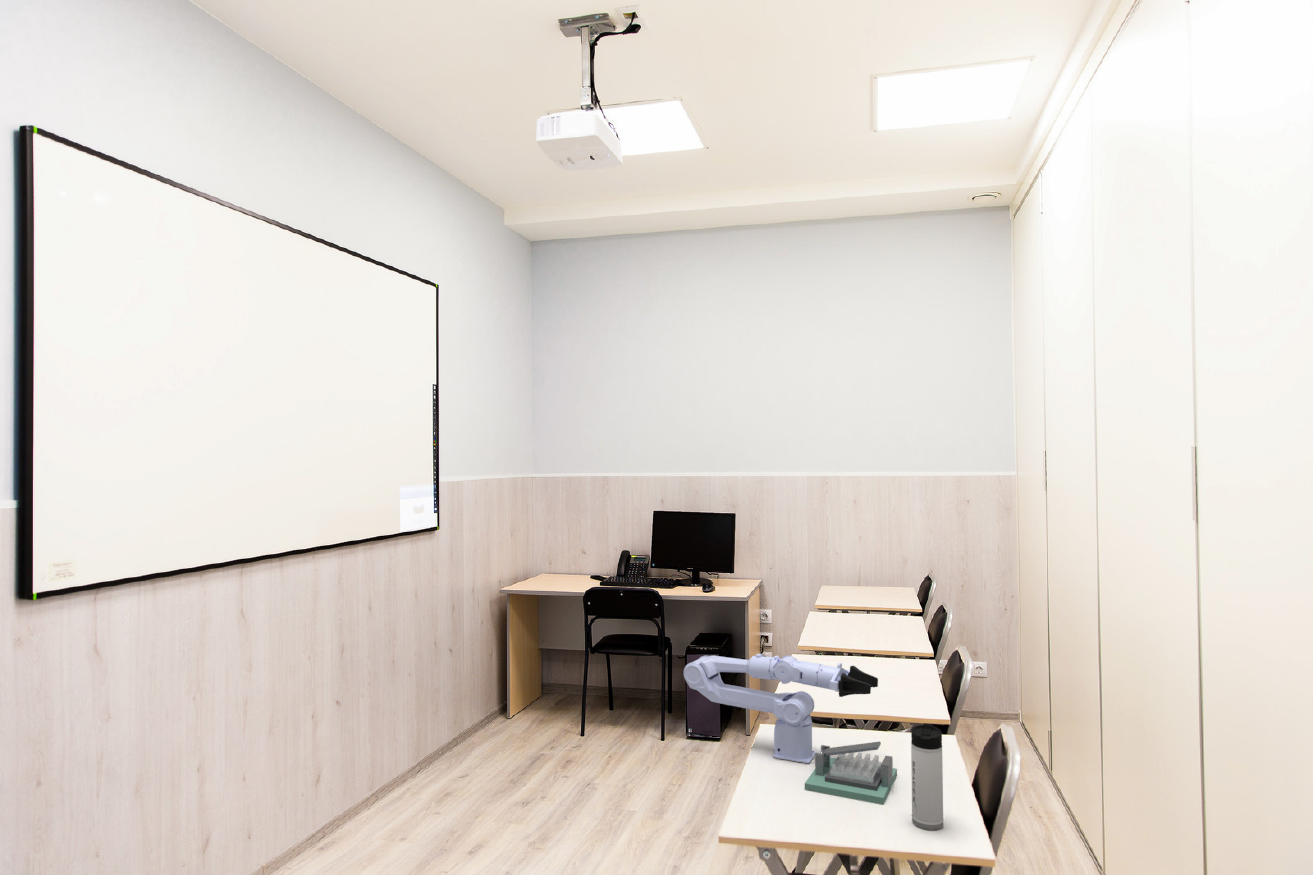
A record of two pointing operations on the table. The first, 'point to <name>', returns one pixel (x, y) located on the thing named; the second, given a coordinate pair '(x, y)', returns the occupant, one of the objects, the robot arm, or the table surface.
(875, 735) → the table surface
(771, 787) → the table surface
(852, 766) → the heat sink
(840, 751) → the flat metal bar
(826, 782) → the circuit board
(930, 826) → the travel mug
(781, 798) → the table surface
